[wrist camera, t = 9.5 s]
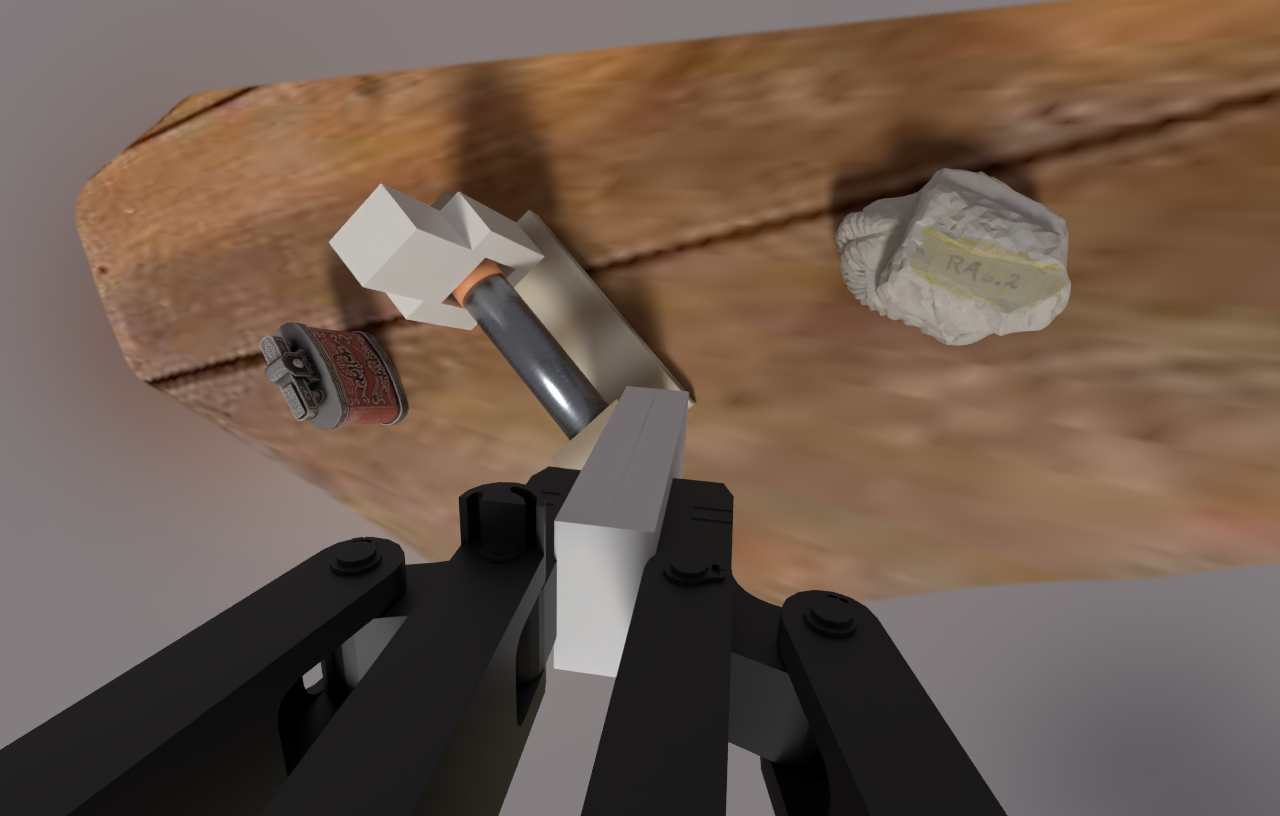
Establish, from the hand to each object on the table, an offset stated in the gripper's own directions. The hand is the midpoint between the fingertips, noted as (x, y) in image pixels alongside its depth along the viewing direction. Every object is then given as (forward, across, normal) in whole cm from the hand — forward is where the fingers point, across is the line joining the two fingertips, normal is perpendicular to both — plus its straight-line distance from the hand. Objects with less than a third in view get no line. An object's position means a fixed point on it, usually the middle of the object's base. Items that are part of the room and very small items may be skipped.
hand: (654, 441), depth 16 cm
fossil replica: (+29, +14, +1) cm, 33 cm away
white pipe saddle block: (+27, -14, -1) cm, 31 cm away
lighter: (+32, -25, -11) cm, 42 cm away
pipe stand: (+31, -9, -6) cm, 33 cm away
